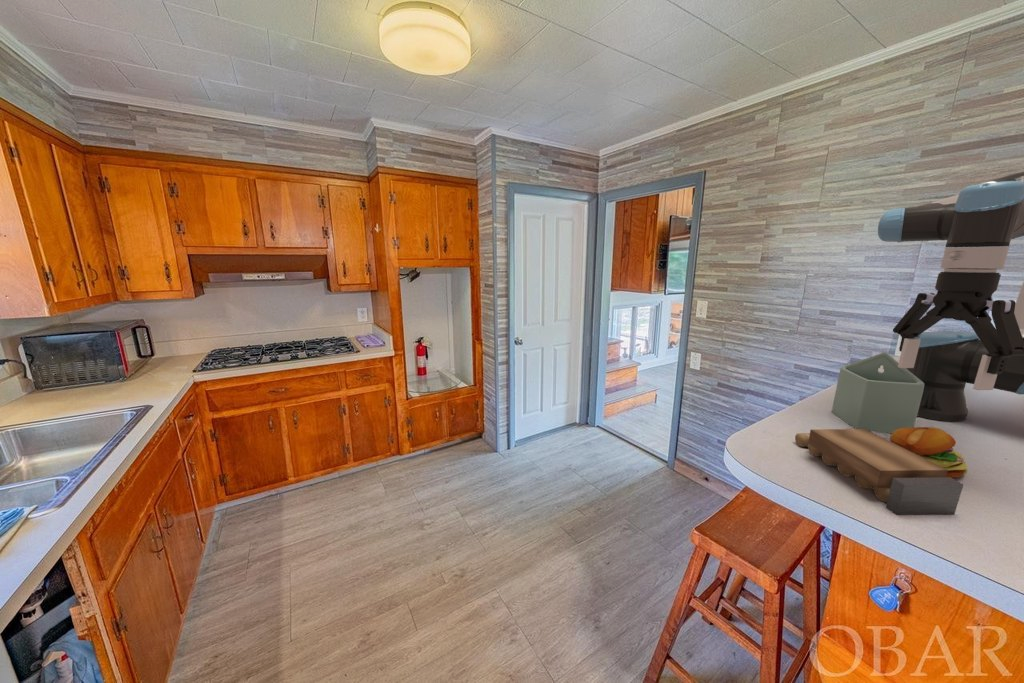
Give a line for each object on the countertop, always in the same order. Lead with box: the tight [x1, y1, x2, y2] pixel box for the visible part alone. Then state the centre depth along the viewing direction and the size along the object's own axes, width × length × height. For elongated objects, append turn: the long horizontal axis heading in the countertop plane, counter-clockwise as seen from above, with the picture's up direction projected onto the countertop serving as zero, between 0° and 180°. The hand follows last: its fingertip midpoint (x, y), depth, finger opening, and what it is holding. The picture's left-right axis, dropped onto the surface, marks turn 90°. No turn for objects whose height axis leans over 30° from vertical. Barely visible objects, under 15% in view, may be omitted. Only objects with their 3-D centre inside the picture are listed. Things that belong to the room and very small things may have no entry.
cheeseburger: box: [889, 426, 968, 479], centre depth 77 cm, size 10×11×10 cm
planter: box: [831, 351, 924, 434], centre depth 95 cm, size 16×8×20 cm, turn 29°
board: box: [808, 428, 948, 488], centre depth 74 cm, size 12×16×4 cm
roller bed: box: [794, 432, 890, 503], centre depth 77 cm, size 8×23×3 cm, turn 0°
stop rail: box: [885, 477, 964, 516], centre depth 64 cm, size 10×2×6 cm, turn 90°
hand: (940, 377), depth 74 cm, fingers open, 13 cm apart
